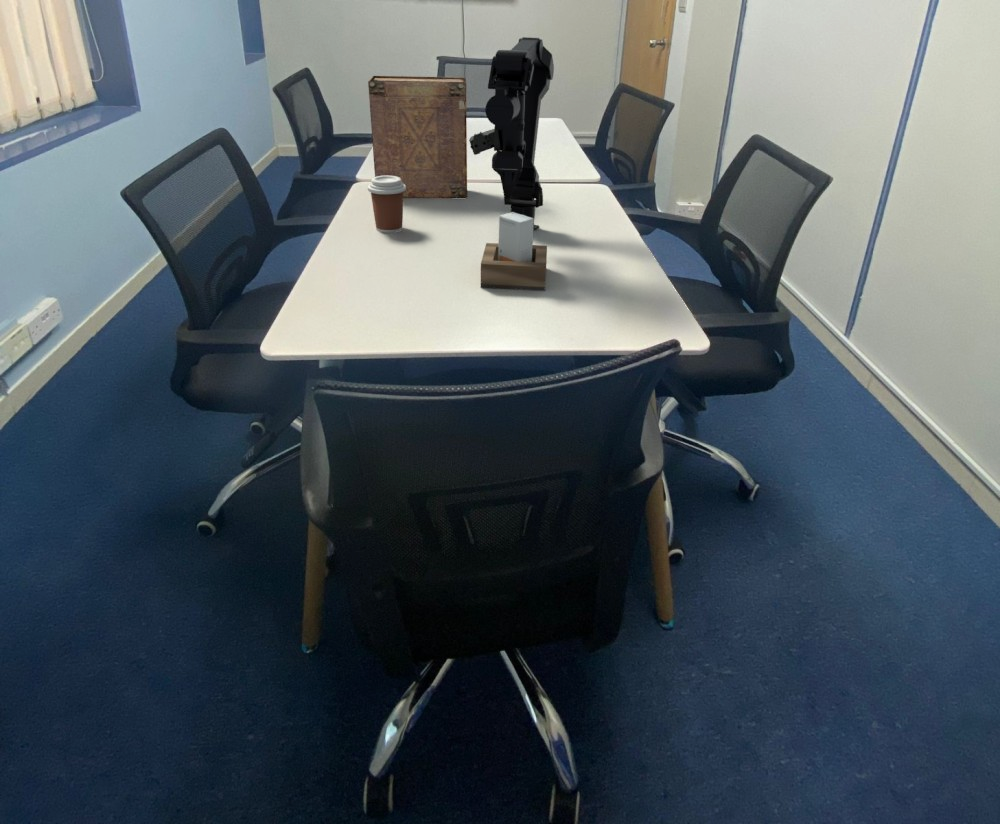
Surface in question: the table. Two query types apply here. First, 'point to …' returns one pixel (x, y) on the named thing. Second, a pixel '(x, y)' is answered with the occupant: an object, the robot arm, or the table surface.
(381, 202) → the coffee cup
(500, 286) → the socket block
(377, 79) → the book
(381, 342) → the table surface
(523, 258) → the skincare box
